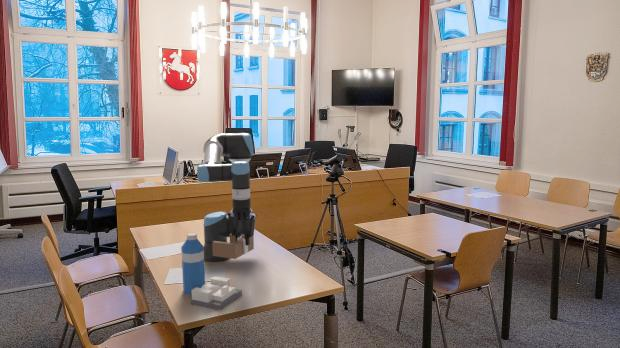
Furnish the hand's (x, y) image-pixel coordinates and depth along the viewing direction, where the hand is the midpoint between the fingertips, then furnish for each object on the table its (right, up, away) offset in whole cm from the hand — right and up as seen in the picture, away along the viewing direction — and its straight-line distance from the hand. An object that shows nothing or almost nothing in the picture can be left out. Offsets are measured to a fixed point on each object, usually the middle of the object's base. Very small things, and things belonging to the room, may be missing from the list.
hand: (242, 251), depth 197 cm
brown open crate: (-4, 0, +2) cm, 5 cm away
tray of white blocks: (-10, -22, -7) cm, 25 cm away
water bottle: (-21, -17, +2) cm, 27 cm away
